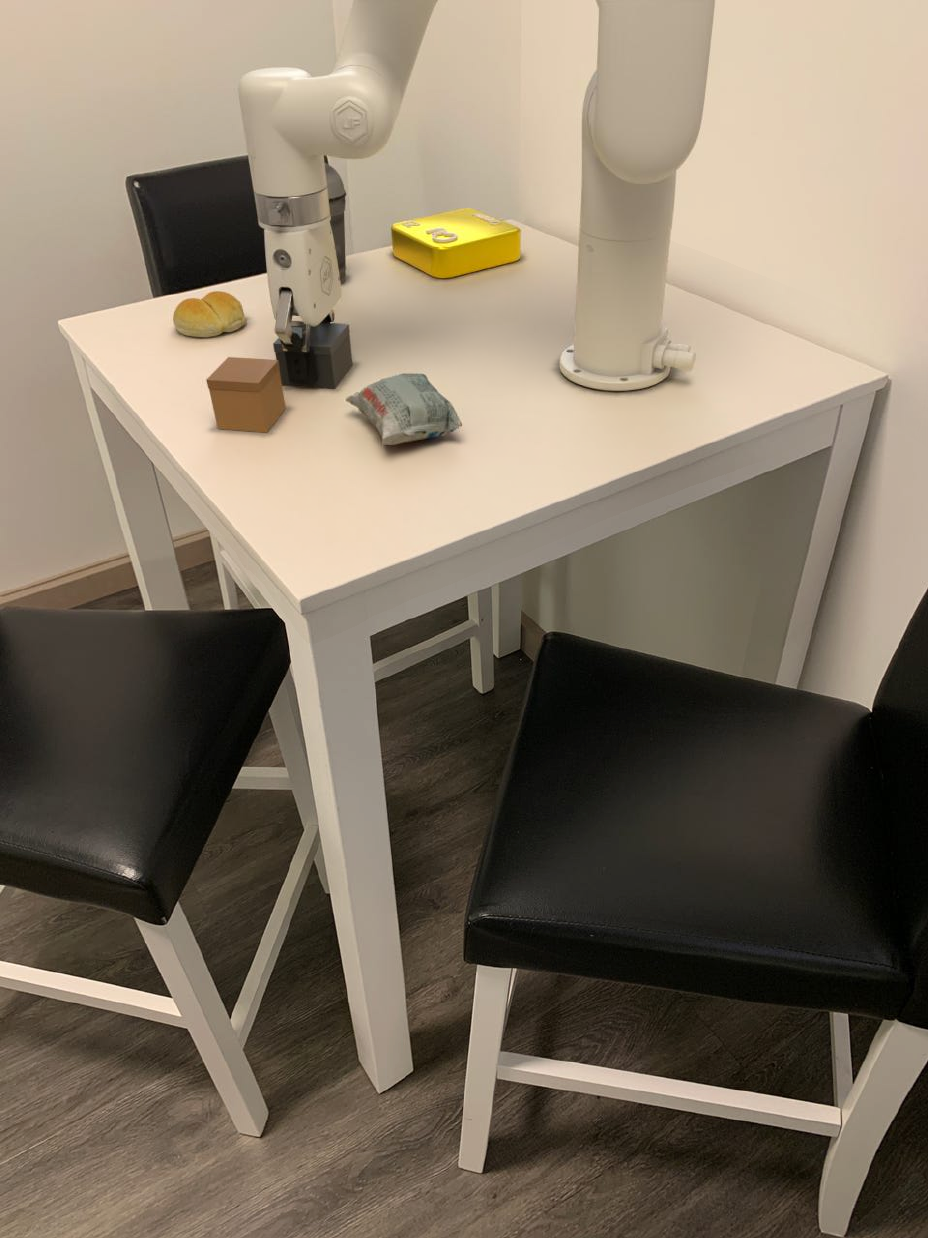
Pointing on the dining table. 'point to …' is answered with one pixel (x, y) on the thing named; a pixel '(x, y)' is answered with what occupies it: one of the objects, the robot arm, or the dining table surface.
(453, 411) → the packaged food
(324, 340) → the charcoal box
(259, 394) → the kraft box
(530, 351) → the dining table surface
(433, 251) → the element tile
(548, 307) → the dining table surface
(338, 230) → the beverage cup
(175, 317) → the bread roll
